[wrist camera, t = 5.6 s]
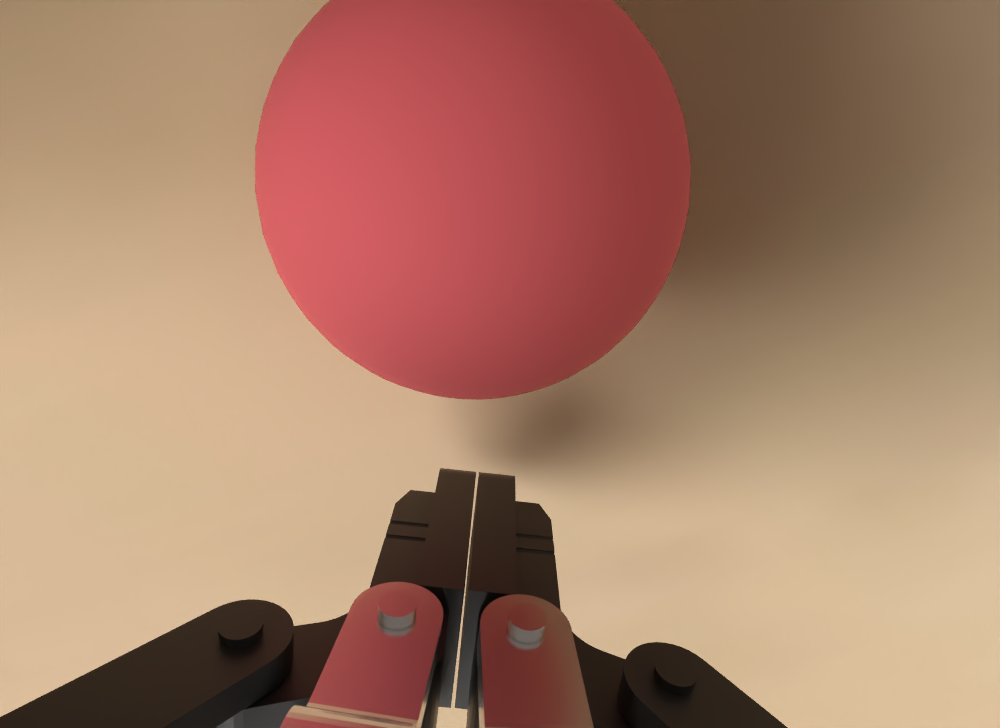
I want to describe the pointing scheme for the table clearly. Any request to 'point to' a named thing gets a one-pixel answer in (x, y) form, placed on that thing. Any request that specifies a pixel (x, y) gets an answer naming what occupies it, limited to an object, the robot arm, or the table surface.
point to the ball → (473, 186)
